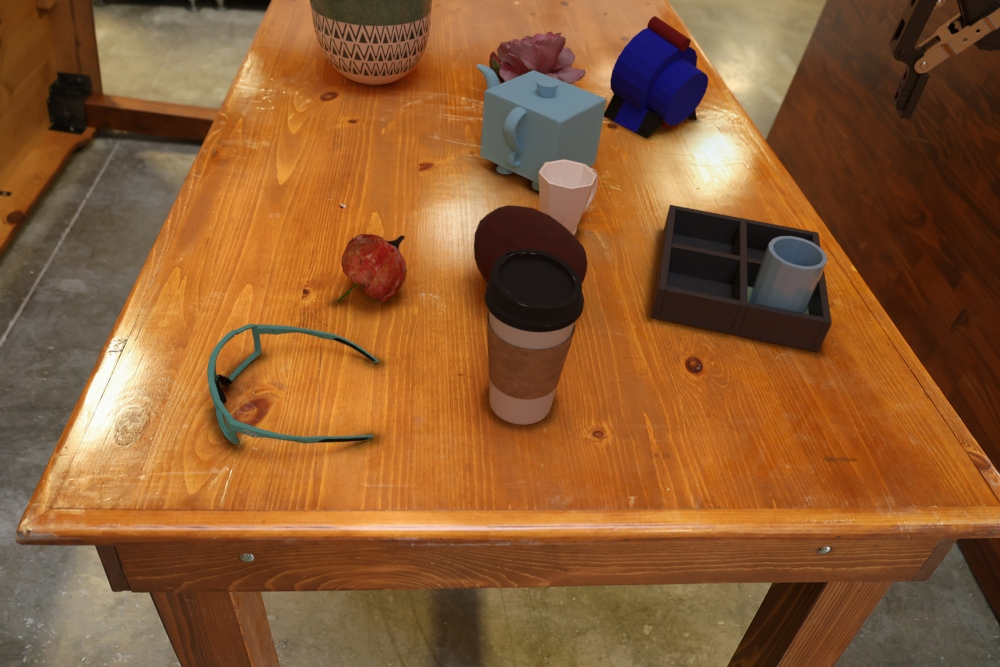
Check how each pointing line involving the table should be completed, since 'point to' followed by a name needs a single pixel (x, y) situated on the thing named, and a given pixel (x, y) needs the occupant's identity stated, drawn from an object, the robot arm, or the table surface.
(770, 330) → the black divided tray
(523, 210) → the dark brown oval ball
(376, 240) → the pomegranate
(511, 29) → the table surface
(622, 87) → the alarm clock
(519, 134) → the teapot
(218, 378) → the sunglasses
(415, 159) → the table surface
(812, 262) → the blue cup
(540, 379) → the coffee cup
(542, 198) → the cup
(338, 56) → the planter
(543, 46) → the flower
